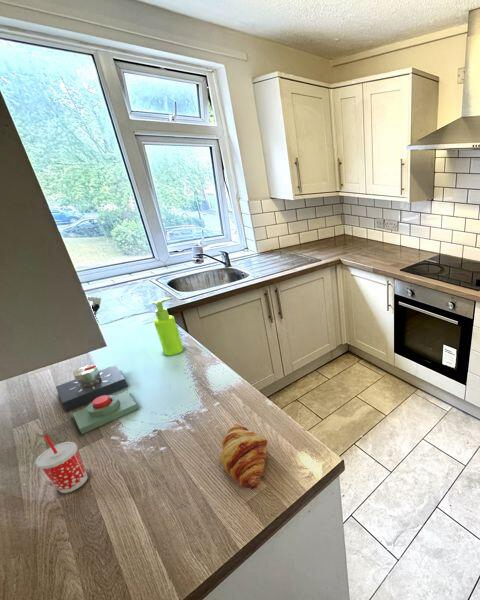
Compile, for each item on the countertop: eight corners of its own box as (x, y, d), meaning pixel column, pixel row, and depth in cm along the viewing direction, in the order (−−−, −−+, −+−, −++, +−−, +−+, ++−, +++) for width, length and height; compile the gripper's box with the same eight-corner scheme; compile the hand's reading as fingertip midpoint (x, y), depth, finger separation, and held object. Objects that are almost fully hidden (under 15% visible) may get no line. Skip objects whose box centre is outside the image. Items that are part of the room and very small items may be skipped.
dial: (81, 390, 95) (74, 376, 93) (77, 382, 98) (70, 369, 96) (103, 381, 98) (98, 368, 96) (99, 374, 101) (93, 361, 99)
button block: (81, 434, 84) (76, 424, 82) (74, 417, 89) (69, 407, 87) (138, 408, 92) (134, 398, 91) (128, 395, 97) (124, 385, 96)
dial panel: (66, 411, 91) (61, 402, 90) (59, 394, 97) (55, 385, 96) (128, 386, 101) (124, 378, 100) (118, 372, 107) (114, 364, 106)
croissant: (226, 446, 85) (203, 432, 80) (259, 417, 88) (238, 402, 83) (246, 511, 69) (219, 498, 64) (285, 472, 72) (262, 458, 67)
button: (96, 411, 87) (93, 406, 86) (93, 405, 89) (90, 400, 88) (113, 403, 89) (110, 398, 89) (109, 398, 92) (107, 393, 91)
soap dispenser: (189, 347, 121) (175, 298, 113) (171, 356, 116) (154, 305, 107) (179, 343, 124) (164, 295, 115) (160, 353, 118) (143, 302, 110)
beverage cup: (66, 473, 73) (38, 426, 68) (98, 468, 75) (73, 421, 69) (46, 499, 68) (14, 450, 62) (81, 493, 69) (53, 444, 64)
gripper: (81, 267, 94) (103, 319, 101) (-7, 287, 80) (26, 346, 87) (94, 270, 91) (116, 324, 98) (6, 292, 77) (39, 353, 84)
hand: (74, 334), depth 93 cm, fingers open, 9 cm apart
